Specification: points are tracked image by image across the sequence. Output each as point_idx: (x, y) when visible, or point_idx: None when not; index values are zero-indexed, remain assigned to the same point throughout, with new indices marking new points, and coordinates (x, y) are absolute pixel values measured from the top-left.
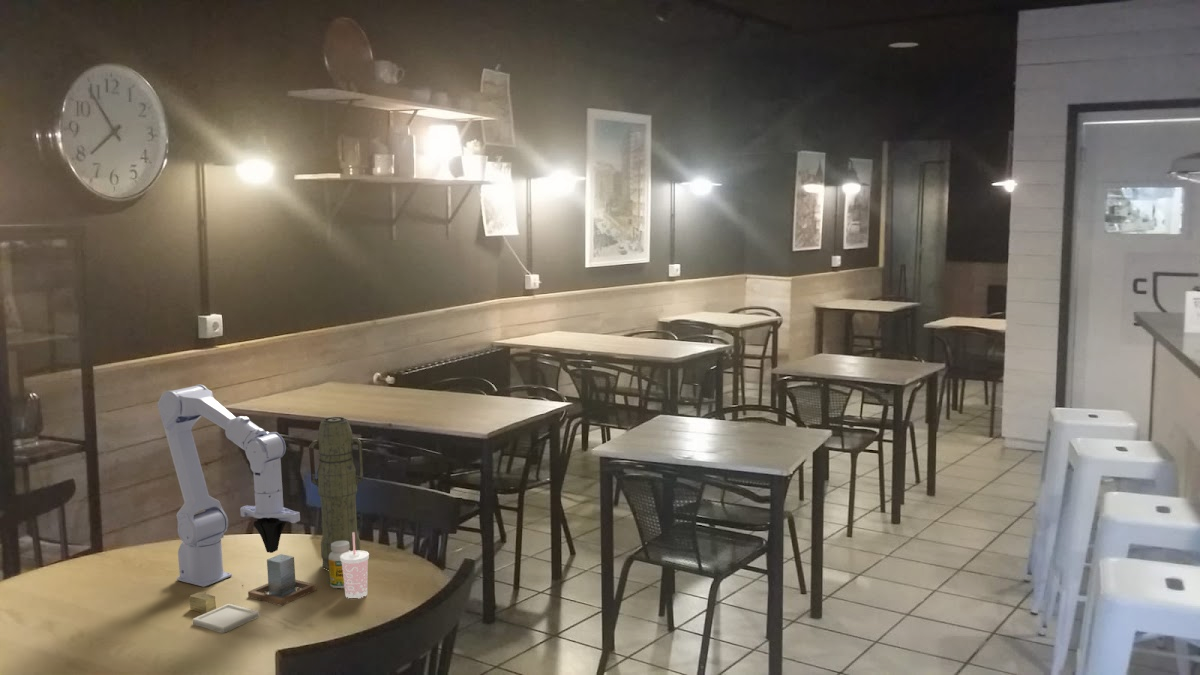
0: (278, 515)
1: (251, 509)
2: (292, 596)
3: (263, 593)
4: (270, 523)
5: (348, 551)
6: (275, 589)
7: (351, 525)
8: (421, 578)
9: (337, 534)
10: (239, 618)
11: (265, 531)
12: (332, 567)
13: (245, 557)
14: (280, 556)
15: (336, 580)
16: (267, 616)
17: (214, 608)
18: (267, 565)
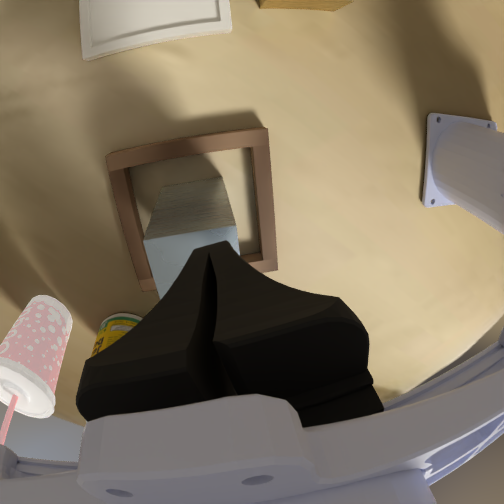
0: (27, 497)
1: (489, 423)
2: (117, 202)
3: (206, 150)
4: (92, 403)
5: (52, 405)
6: (190, 189)
7: None
8: (66, 407)
9: None
10: (101, 2)
11: (191, 316)
12: None
13: (453, 285)
14: None
15: (106, 329)
16: (73, 81)
17: (260, 2)
18: (231, 214)
